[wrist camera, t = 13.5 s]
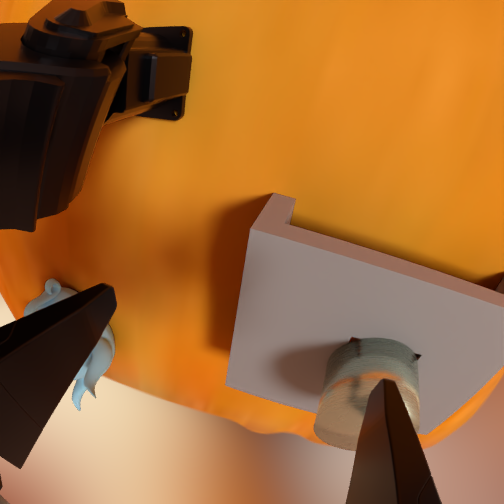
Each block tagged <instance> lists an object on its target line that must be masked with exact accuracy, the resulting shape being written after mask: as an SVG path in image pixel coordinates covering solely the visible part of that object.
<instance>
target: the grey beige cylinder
mask: <svg viewBox="0 0 504 504" xmlns="http://www.w3.org/2000/svg"><path fill="white" fill-rule="evenodd" d="M383 378H386V379H390V380H394V381H395V382H396V384H397V387H398V389H399V391H400V394H401V396H402V398H403V401H404V403H405V406H406V408H407V411H408V413H409V416H410V418H411V421H412V423H413V426H414V428H415V431H416V433H418V431H419V428H420V400H419V373H418V360H417V357H416V355H415V353H414V352H413V351H412V349H410V348H409V347H408V346H406V345H405V344H403V343H401V342H398V341H395V340H392V339H387V338H364V339H359V338H355V337H351V342H349V343H347V344H344V345H342V346H341V347H339V348H338V349H337V350H335V351H334V352H333V353H332V354H331V356H330V357H329V359H328V362H327V367H326V372H325V377H324V382H323V387H322V392H321V397H320V401H319V406H318V411H317V415H316V419H315V424H314V432H315V434H316V435H317V436H318V438H320V439H321V440H322V441H324V442H325V443H327V444H329V445H332V446H334V447H337V448H341V449H345V450H351V451H356V448H357V443H358V438H359V434H360V430H361V426H362V422H363V419H364V415H365V411H366V407H367V402H368V398H369V395H370V393H371V391H372V390H373V389H374V387H375V386H376V385H377V384H378V383H379V381H380V380H381V379H383Z"/></svg>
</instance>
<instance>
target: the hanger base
mask: <svg viewBox="0 0 504 504" xmlns="http://www.w3.org/2000/svg"><path fill="white" fill-rule="evenodd" d="M295 200H296V199H294V198H290V197H287V196H283V195H279V194H276V193H273V195H272V196H271V198H270V199H269V201H268V202H267V204H266V205H265V207H264V208H263V210H262V211H261V213H260V214H259V216H258V217H257V219H256V220H255V222H254V224H253V225H252V227H251V228H250V234H249V240H248V246H247V252H246V258H245V265H244V271H243V277H242V283H241V289H240V296H239V302H238V308H237V314H236V320H235V327H234V333H233V339H232V346H231V352H230V358H229V364H228V371H227V377H226V384H225V385H226V386H228V387H231V388H234V389H237V390H240V391H243V392H246V393H249V394H252V395H255V396H258V397H261V398H264V399H267V400H270V401H274V402H277V403H280V404H284V405H287V406H291V407H294V408H298V409H301V410H305V411H309V412H313V413H316V414H317V411H318V406H319V401H320V397H321V392H322V387H323V382H324V377H325V372H326V367H327V362H328V359H329V357H330V356H331V354H332V353H333V352H334V351H335V350H337V349H338V348H339V347H341V346H342V345H344V344H347V343H348V342H349V340H350V339H351V337H355V338H359V339H364V338H387V339H392V340H395V341H398V342H401V343H403V344H405V345H406V346H408V347H409V348H410V349H412V351H413V352H414V353H415V355H416V357H417V360H418V373H419V400H420V428H419V431H418V434H426V435H427V434H428V433H430V432H431V431H432V430H433V429H435V428H436V427H437V426H439V425H440V424H441V423H442V422H444V421H445V420H446V419H447V418H449V417H450V416H451V415H452V414H453V413H454V412H456V411H457V410H458V409H459V408H460V407H461V406H463V405H464V404H465V403H466V402H467V401H468V400H469V399H470V398H472V397H473V396H474V395H475V394H476V393H477V392H478V391H479V390H480V389H481V388H482V387H483V386H484V385H485V384H486V383H487V382H488V381H489V380H490V379H491V378H492V377H493V376H494V375H495V374H496V373H497V372H498V371H499V370H500V369H501V368H502V367H503V366H504V277H503V279H502V280H501V282H500V283H499V285H498V287H497V288H496V290H495V291H493V290H490V289H487V288H485V287H482V286H479V285H476V284H474V283H471V282H468V281H465V280H462V279H459V278H456V277H454V276H451V275H448V274H445V273H442V272H439V271H436V270H433V269H430V268H427V267H424V266H421V265H418V264H415V263H412V262H409V261H406V260H403V259H400V258H397V257H394V256H391V255H388V254H384V253H381V252H378V251H375V250H372V249H369V248H365V247H362V246H359V245H356V244H353V243H349V242H346V241H343V240H340V239H336V238H333V237H330V236H326V235H323V234H320V233H316V232H313V231H310V230H306V229H303V228H299V227H296V226H292V225H290V221H291V217H292V213H293V208H294V204H295Z"/></svg>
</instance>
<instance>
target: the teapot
mask: <svg viewBox="0 0 504 504" xmlns="http://www.w3.org/2000/svg"><path fill="white" fill-rule="evenodd" d="M77 293H78V292H76V291H74V290H72V289H70V288H64V287H61V285H60V283H59V282H58V281H57V280H56V279H54V278H51V279H49V280H47V281H46V283H45V291H44V292H43V293H42V294H41V295H40V296H39V297H37V298H35V299H33V300H32V301H31V302H29V304H28V305H27V306H26V308H25V311H24V316H27V315H29V314H31V313H33V312H36V311H38V310H40V309H42V308H45V307H47V306H49V305H52V304H54V303H56V302H58V301H61V300H63V299H65V298H68V297H70V296H72V295H75V294H77ZM114 354H115V342H114V335H113V332H112V330H111V327H110V326H109V324H108V325H107V326H106V328H105V330H104V332H103V334H102V336H101V338H100V339H99V341H98V343H97V345H96V346H95V348H94V349H93V351H92V352H91V354H90V355H89V357H88V358H87V360H86V361H85V363H84V364H83V366H82V367H81V369H80V370H79V372H78V373H77V375H76V377H75V378H74V380H77V381H76V384H75V386H74V389H73V393H72V401H73V403H74V405H75V407H76V408H77V409H78V410H79V411H80V410H81V408H80V401H81V398H82V396H83V394H84V392H85V391H86V390H88V391H89V392H90V393H91V394H92V395H93V396H94V397H95V398H96V396H95V391H94V389H95V385H96V382H97V381H98V380H99V378H100V377H101V376H102V375H103V374H104V373H105V372H106V371H107V369H108V368H109V366H110V365H111V362H112V359H113V357H114Z"/></svg>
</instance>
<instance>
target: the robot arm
mask: <svg viewBox="0 0 504 504" xmlns="http://www.w3.org/2000/svg"><path fill="white" fill-rule="evenodd" d="M184 31H186V35H185V36H184V37H183V35H182V33H183V32H184ZM192 37H193V31H192V29H191V28H190V27H185V26H170V27H148V28H142V27H141V26H139V25H137V24H135V23H134V22H132V21H131V20H129V19H128V18H127V15H126V12H125V6H124V3H123V2H120V1H118V0H52V1H51V2H50V3H48V4H47V5H46V6H45V7H43V8H42V9H41V10H40V11H38V12H37V13H36V14H35V15H34V16H33V17H31V18H30V20H29V21H28V23H2V24H0V229H17V230H22V231H27V232H34V231H35V229H36V220H37V219H40V218H44V217H48V216H52V215H56V214H58V213H60V212H62V211H64V210H65V209H67V208H68V205H69V203H70V202H71V201H72V200H73V199H74V198H75V197H76V196H77V195H78V193H79V192H80V191H81V189H82V186H83V183H84V180H85V177H86V174H87V171H88V167H89V164H90V161H91V158H92V155H93V152H94V149H95V146H96V143H97V140H98V137H99V135H100V132H101V129H102V126H104V125H107V124H110V123H113V122H116V121H119V120H122V119H125V118H128V117H131V116H142V117H151V118H159V119H167V120H179V119H181V118H182V117H183V116H184V111H185V99H186V94H187V93H188V90H189V80H190V71H191V62H192V56H191V55H190V52H191V44H192ZM175 110H177V111H178V116H176V115H175ZM116 307H117V302H116V297H115V292H114V288H113V287H112V286H110V285H108V284H106V283H100V284H98V285H96V286H93V287H91V288H89V289H86V290H84V291H82V292H79V293H77V294H75V295H72V296H70V297H68V298H65V299H63V300H61V301H58V302H56V303H54V304H52V305H49V306H47V307H45V308H42V309H40V310H38V311H36V312H33V313H31V314H29V315H27V316H24V317H22V318H20V319H18V320H17V321H16V320H15V321H13V322H11V323H9V324H6V325H4V326H2V327H0V456H1V457H2V458H4V459H5V460H7V461H8V462H10V463H11V464H13V465H14V466H16V467H18V468H19V469H21V468H22V466H23V464H24V462H25V461H26V459H27V457H28V455H29V453H30V452H31V450H32V448H33V446H34V444H35V442H36V441H37V439H38V437H39V436H40V434H41V432H42V431H43V428H44V427H45V425H46V423H47V422H48V420H49V418H50V417H51V415H52V413H53V412H54V410H55V408H56V407H57V405H58V403H59V402H60V400H61V398H62V397H63V395H64V394H65V392H66V391H67V389H68V387H69V386H70V384H71V383H72V381H73V380H74V378H75V377H76V375H77V373H78V372H79V370H80V369H81V367H82V366H83V364H84V363H85V361H86V360H87V358H88V357H89V355H90V354H91V352H92V351H93V349H94V348H95V346H96V345H97V343H98V341H99V339H100V338H101V336H102V334H103V332H104V330H105V328H106V326H107V325H108V323H109V321H110V319H111V317H112V315H113V314H114V312H115V310H116ZM1 488H2V481H1V476H0V490H1ZM0 504H9V503H8V502H7V501H6V500H5V499H4V498H3V497H2V496H1V495H0ZM346 504H442V502H441V500H440V497H439V495H438V492H437V489H436V486H435V483H434V480H433V477H432V476H431V472H430V469H429V466H428V463H427V460H426V458H425V455H424V452H423V449H422V447H421V444H420V441H419V439H418V436H417V433H416V431H415V428H414V426H413V423H412V421H411V418H410V416H409V413H408V411H407V408H406V406H405V403H404V401H403V398H402V396H401V394H400V391H399V389H398V387H397V384H396V382H395V381H394V380H390V379H386V378H383V379H381V380H380V381H379V383H378V384H377V385H376V386H375V387H374V389H373V390H372V391H371V393H370V395H369V398H368V402H367V407H366V411H365V415H364V419H363V422H362V426H361V430H360V434H359V438H358V443H357V448H356V455H355V460H354V466H353V471H352V477H351V481H350V486H349V491H348V495H347V500H346Z"/></svg>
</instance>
